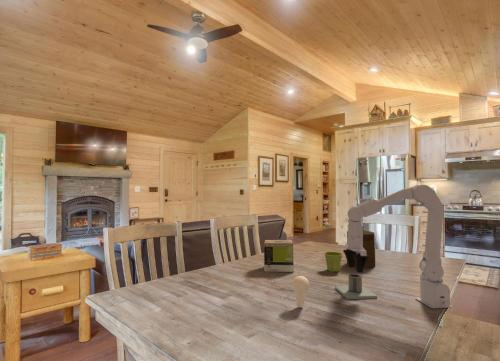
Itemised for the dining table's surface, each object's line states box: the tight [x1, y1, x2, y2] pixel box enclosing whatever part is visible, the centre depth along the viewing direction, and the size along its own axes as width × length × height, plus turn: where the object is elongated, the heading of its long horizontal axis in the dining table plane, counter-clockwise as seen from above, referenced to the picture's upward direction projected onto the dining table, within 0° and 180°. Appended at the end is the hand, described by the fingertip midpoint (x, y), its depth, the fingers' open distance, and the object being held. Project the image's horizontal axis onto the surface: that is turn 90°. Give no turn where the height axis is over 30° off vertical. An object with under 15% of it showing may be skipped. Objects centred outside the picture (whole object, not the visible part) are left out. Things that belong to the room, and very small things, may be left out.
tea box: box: [263, 239, 295, 273], centre depth 154 cm, size 15×10×15 cm
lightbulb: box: [291, 275, 310, 309], centre depth 105 cm, size 6×6×11 cm
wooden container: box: [346, 225, 376, 269], centre depth 165 cm, size 15×15×22 cm
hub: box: [348, 273, 363, 293], centre depth 119 cm, size 5×5×6 cm
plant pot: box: [323, 251, 344, 273], centre depth 153 cm, size 9×9×9 cm
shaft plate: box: [334, 285, 378, 300], centre depth 119 cm, size 12×12×4 cm
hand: (355, 269), depth 120 cm, fingers open, 7 cm apart
